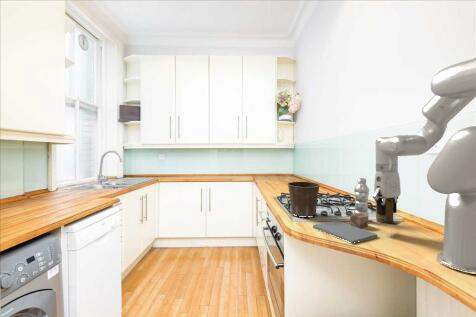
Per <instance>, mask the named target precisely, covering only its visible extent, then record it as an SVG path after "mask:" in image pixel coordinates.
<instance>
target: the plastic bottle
mask: <svg viewBox="0 0 476 317" xmlns="http://www.w3.org/2000/svg"><path fill="white" fill-rule="evenodd" d="M366 183H367V178H366V177H365V178H364V177H358V178H357V183H356V185H355V187H354V188H353V189H354V199H355V200H354V202H355V203H354V211H353V214H357V213H359V214H362V215H366V216H368V219H369V217H370V212H369V207H368V201H369V195H370V188H369V187H368V185H367V184H366Z"/></svg>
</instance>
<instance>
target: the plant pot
mask: <svg viewBox="0 0 476 317" xmlns="http://www.w3.org/2000/svg"><path fill="white" fill-rule="evenodd" d="M286 185H287V186H288V187H287V188H288V192H289V203H290V214H291V213H292V214H295V215H298V216H306V217H308V216H313V215H314V214H315V213H317V204H318V194H319V193H320V192H319V190H320V187H321V184H320V183H318V182H313V181H292V182H290V181H289V182H287V184H286ZM292 214H291V215H292ZM298 216H297V217H298Z"/></svg>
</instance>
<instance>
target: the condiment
mask: <svg viewBox="0 0 476 317" xmlns="http://www.w3.org/2000/svg"><path fill="white" fill-rule="evenodd" d="M380 196H381V197H383V196H382V195H380ZM380 199H381V198H380ZM381 201H382V199H381ZM384 205H386V215H380V214H377V204H376V203H375V219H373V220H372V222H373V223H378V224H386V225H389V226H398V225H400V224H401V223H403V222H402V221H398V220H394V213H393V199H392V198H386V200H385V204H384Z"/></svg>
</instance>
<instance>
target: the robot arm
mask: <svg viewBox="0 0 476 317" xmlns="http://www.w3.org/2000/svg"><path fill="white" fill-rule="evenodd" d="M430 91H431V93H432V94H434V95H432V97H431V98H430V99H429V100H428V102H427V103H425V104H424V105H423V107H422V108H421V113H422V115H423V117H425V119H426V123H425V124H424V126H422V128H421V129H420V130H419V131H417V133H416V134H411V135H410V134H407V135H406V134H405V135H401V134H400V135H394V136H386V137H378V138H376V140H375V176H374V189H373V190H374V193H373V194H372V198H373V199H374V201H375V205H376V204H377V214H380V215H386V205H384V204H385V200H386V198H392V199H393V214H397V212H398V211H397V209H398V208H397V203H398V199H399V197H400V196H401V193H402V192H401V180H400V172H399V168H398V166H399V160H398V159H399V157H407V156H420V155H423V154H425V153H427V152H428V151H430V149H432V148H433V147H434V146H435V145H436V144H438V143H439V142H440V140H442V138H443V136H444V135H445V133H446V132H447V131H446V130H447V127H448V123H450V122H451V120H453V119H454V118H455V117H456V116H457V115H458V114H459V113H460V112H461V111H462V110H463V109H465V107H467V105H469V104H470V103H471V102H472V101H473V100H474V99H475V98H476V57H474V58H471V59H467V60H465V61H461V62H458V63H455V64H452V65H448V66H447V67H444V68H442V69H441V70H439V71H438V72H437V73H436V74H435V75H434V76H433V77H432V80H431V82H430ZM447 140H448V141H446V143H445V144H444V146H443V147H442V149H441V150H440V152H438V154H437V155H436V157H435V159H434V160H433V161H432V163H431V165H430V166H429V168H428V169H427V173H426V181H427V183H428V186H429V187H430V188H431V190H433V191H435V192H436V193H438V194H443V195H447V196H446V199H445V206H444V225H443V226H444V227H443V250H442V252H439V253H437V254H436V260H437V259H438V260H439V261H440V262H442V263H444V264H446V265H448V266H451V267H453V268H456V269H459V270H462V271H467V272H475V273H476V125H473V126H468V127H464V128H462V129H460V130H458V131H457V132H455V133H454V134H453V135H452V136H451V137H450V138H449V139H447ZM380 195H382V196H383V197H381V196H380ZM380 198H381V199H382V201H381V199H380ZM438 260H437V261H438ZM440 262H439V263H440Z"/></svg>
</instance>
